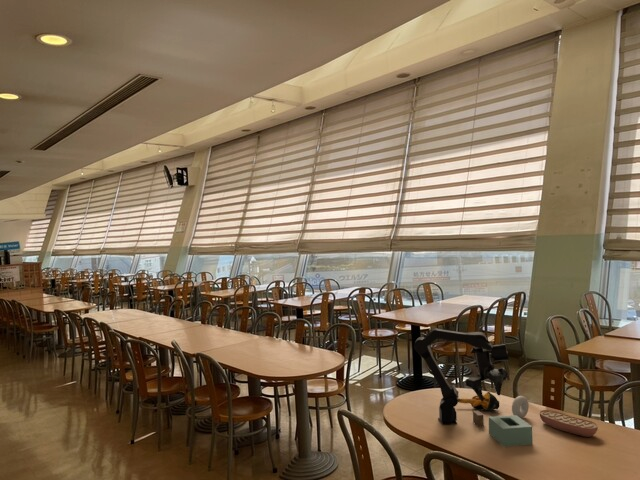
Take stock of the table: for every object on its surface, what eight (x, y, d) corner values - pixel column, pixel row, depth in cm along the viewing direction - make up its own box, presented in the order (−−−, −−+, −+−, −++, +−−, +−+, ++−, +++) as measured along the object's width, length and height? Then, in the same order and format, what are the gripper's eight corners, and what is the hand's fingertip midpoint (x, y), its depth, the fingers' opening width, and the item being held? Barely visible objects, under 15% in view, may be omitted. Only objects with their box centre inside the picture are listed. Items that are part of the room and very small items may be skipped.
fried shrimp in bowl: (503, 405, 213) (464, 392, 215) (494, 422, 217) (456, 409, 219) (500, 391, 221) (463, 378, 223) (492, 408, 226) (455, 395, 228)
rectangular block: (478, 426, 201) (477, 415, 201) (473, 422, 206) (472, 411, 206) (483, 426, 201) (483, 414, 201) (478, 422, 206) (478, 410, 206)
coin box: (503, 446, 181) (502, 428, 181) (489, 433, 193) (488, 416, 193) (532, 444, 183) (532, 426, 183) (516, 431, 195) (516, 415, 194)
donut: (517, 422, 204) (516, 399, 204) (510, 419, 207) (509, 397, 207) (530, 416, 210) (530, 394, 210) (523, 414, 213) (523, 392, 213)
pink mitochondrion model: (602, 436, 188) (601, 424, 188) (590, 443, 183) (590, 430, 183) (546, 419, 207) (546, 408, 207) (534, 425, 201) (534, 413, 201)
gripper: (479, 370, 191) (486, 408, 190) (514, 359, 198) (521, 396, 197) (461, 366, 201) (468, 402, 200) (495, 356, 208) (502, 391, 207)
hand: (490, 398), depth 201 cm, fingers open, 9 cm apart
